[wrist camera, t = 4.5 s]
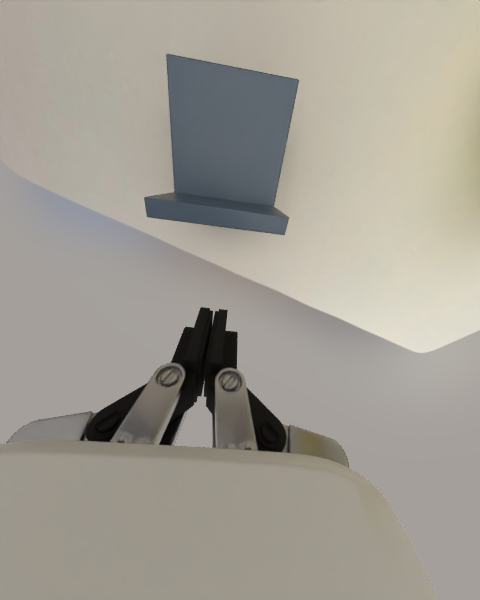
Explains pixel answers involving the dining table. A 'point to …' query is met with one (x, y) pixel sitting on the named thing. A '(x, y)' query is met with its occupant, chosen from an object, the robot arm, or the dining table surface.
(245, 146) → the chair
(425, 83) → the dining table surface
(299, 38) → the dining table surface
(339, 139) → the dining table surface
